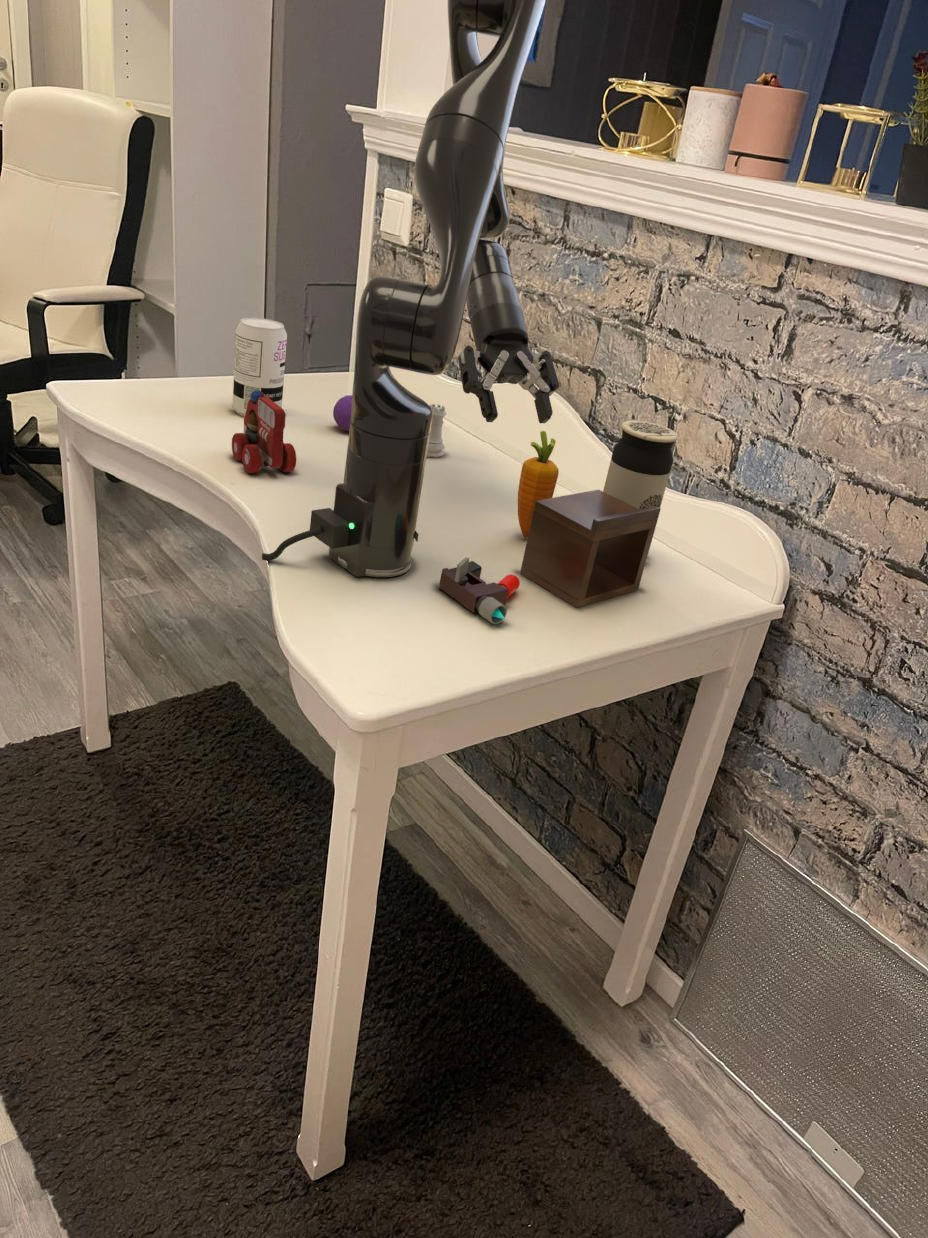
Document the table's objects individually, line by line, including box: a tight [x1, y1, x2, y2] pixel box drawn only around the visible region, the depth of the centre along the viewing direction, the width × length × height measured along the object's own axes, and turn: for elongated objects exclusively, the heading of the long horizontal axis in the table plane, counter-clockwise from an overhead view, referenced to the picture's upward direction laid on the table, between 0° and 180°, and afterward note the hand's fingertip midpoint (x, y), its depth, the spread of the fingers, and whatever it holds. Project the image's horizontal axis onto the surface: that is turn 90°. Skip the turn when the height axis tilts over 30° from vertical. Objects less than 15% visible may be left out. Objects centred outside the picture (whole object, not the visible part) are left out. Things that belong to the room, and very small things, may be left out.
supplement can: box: [231, 317, 288, 417], centre depth 156 cm, size 8×8×15 cm
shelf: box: [519, 489, 661, 609], centre depth 118 cm, size 12×10×11 cm
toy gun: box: [438, 557, 521, 625], centre depth 111 cm, size 10×12×5 cm
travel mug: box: [602, 420, 679, 510], centre depth 127 cm, size 8×8×18 cm
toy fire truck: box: [231, 390, 297, 474], centre depth 136 cm, size 7×12×10 cm, turn 30°
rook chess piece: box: [426, 403, 447, 459], centre depth 154 cm, size 4×4×8 cm
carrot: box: [517, 430, 560, 539], centre depth 127 cm, size 5×5×15 cm
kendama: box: [332, 394, 352, 432], centre depth 163 cm, size 6×6×20 cm
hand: (519, 420), depth 129 cm, fingers open, 8 cm apart
